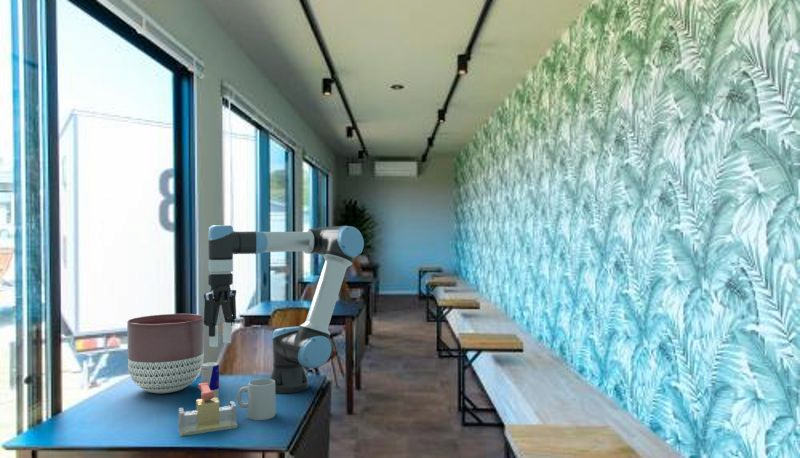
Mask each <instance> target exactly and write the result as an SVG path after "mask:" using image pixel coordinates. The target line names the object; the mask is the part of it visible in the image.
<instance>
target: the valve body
mask: <svg viewBox="0 0 800 458" xmlns="http://www.w3.org/2000/svg"><path fill="white" fill-rule="evenodd" d="M177 428H178V433H179V437H184V436H185V437H186V436H191V435H198V434H205V433H210V432H212V433H213V432H217V431H225V430H232V429H237V428H238V423H237V405H236V403H235V402H234V400H232V401H229V404H228V405H225V406H220V399H219V400H218V398H217V397H213V398H211V400H208V401H205V399H201V398H197V399H196V400H195V410H194V409H193V410H187V411H185V410H184V407H178V423H177Z"/></svg>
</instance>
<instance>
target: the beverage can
mask: <svg viewBox="0 0 800 458" xmlns="http://www.w3.org/2000/svg"><path fill="white" fill-rule="evenodd" d="M219 364H220V363H219V362H214V361H212V362H209V361H208V362H205V363H204V362H203V364H202V367H201V371H200V374H201V376H200V377H201V378H200V381H201V382H200V383H206V382H208V384H209V388H210V390H212V391H214V397H217V398H218V400H219V401H220V366H219ZM200 399H202V398H200Z"/></svg>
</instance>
